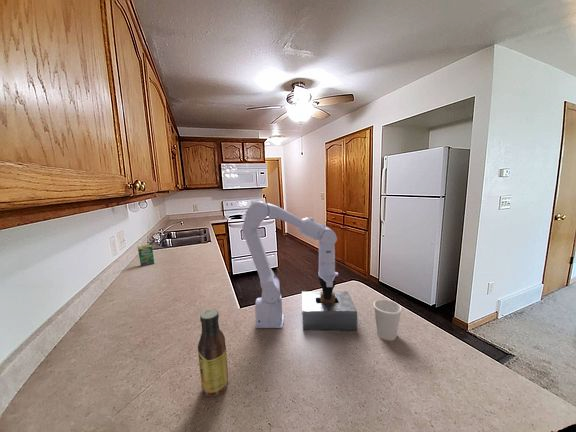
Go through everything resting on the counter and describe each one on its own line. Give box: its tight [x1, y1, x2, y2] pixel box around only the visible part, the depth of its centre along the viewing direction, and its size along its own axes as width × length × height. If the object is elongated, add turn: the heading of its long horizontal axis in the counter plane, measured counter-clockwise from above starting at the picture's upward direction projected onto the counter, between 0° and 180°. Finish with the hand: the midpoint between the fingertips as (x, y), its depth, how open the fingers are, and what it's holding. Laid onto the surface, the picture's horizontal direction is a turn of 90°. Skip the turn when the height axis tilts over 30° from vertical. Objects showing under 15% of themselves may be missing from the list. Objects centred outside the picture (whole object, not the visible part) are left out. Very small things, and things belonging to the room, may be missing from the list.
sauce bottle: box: [197, 308, 229, 398], centre depth 53 cm, size 6×6×20 cm
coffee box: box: [137, 244, 155, 267], centre depth 146 cm, size 8×3×13 cm, turn 125°
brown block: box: [320, 291, 335, 303], centre depth 80 cm, size 5×2×5 cm, turn 88°
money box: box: [301, 290, 358, 332], centre depth 81 cm, size 18×14×7 cm
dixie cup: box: [373, 299, 403, 342], centre depth 71 cm, size 8×8×10 cm
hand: (326, 297), depth 80 cm, fingers closed on brown block, 2 cm apart
